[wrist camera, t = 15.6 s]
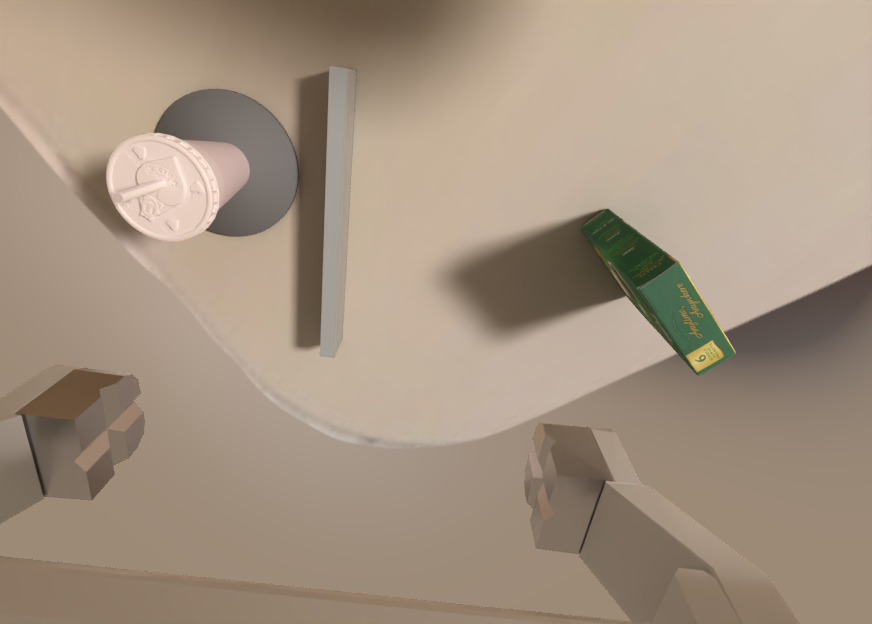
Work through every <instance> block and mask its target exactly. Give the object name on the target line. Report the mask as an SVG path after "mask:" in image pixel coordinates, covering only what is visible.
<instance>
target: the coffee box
mask: <svg viewBox="0 0 872 624" xmlns="http://www.w3.org/2000/svg"><path fill="white" fill-rule="evenodd" d="M581 231H582V232H583V233H584V235H585V236H586V238H587V239H588V241H589V242H590V244H591V245H592V247H593V248H594V249H595V251H596V252H597V254H598V255H599V257H600V258H601V260H602V261H603V263H604V264H605V266H606V267H607V268H608V270H609V271H610V273H611V274H612V276H613V277H614V279H615V280H616V282H617V283H618V285H619V286H620V287H621V289H622V290H623V292H624V293H625V295H626V296H627V297H628V298H629V300H630V301H631V302H632V303H633V305H635V307H636V308H637V309H638V310H639V311H640V312H641V314H642V315H643V316H644V317H645V318H646V319H647V320H648V321H649V323H650V324H651V325H652V326H653V327H654V328H655V329H656V330H657V331H658V332H659V333H660V335H661V336H662V337H663V338H664V339H665V340H666V341H667V342H668V343H669V345H670V346H671V347H672V348H673V349H674V350H675V351H676V352H677V353H678V354H679V356H680V357H681V358H682V359H683V360H684V361H685V362H686V363H687V364H688V366H689V367H690V368H691V369H692V370H693V371H694V372H695V373H696V374H697V375H698V376H701V375H703V374H704V373H706V372H707V371H709V370H710V369H712V368H713V367H715V366H716V365H718V364H720V363H722V362H724V361H725V360H727V359H729V358H730V357H732V356H733V355H735V354H736V352H735V350H734V348H733V347H732V345H731V344H730V342H729V340H728V339H727V337H726V335H725V334H724V332H723V331H722V329H721V327H720V326H719V324H718V323H717V321H716V319H715V318H714V316H713V314H712V313H711V311H710V309H709V308H708V306H707V305H706V303H705V301H704V300H703V298H702V297H701V295H700V293H699V292H698V290H697V288H696V287H695V285H694V284H693V282H692V281H691V279H690V277H689V276H688V274H687V273H686V271H685V270H684V268H683V267H682V265H681V264H680V262H679V261H677V260H676V259H675V258H673V257H672V256H670V255H669V254H668V253H666V252H665V251H663V250H662V249H661V248H659V247H658V246H657V245H655V244H654V243H653V242H651V241H650V240H648V239H647V238H646V237H644V236H643V235H642V234H640V233H639V232H638V231H637V230H635V229H634V228H633V227H631V226H630V225H628V224H627V223H626V222H624V221H623V219H621V218H619V217H618V216H617V215H616V214H614V213H613V212H612V211H611V210H609V209H605V210H604V211H602V212H601V213H599V214H598V215H596V216H595V217H594V218H592V219H591V220H589V221H588V222H586V223H585V224H584V225H583V226H582V227H581Z"/></svg>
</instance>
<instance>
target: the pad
mask: <svg viewBox="0 0 872 624" xmlns="http://www.w3.org/2000/svg"><path fill="white" fill-rule="evenodd" d="M156 133H162V134H167V135H171V136H175V137H177V138H179V139H181V140H196V141H212V142H225V143H229V144H232V145H234V146H236V147H237V148H238V149H240V150H241V151H242V153H243V154H244V155H245V157H246V159H247V161H248V163H249V168H250V174H249V178H248V181H247V183H246V184H245V185H244V186H243V187H242V188H241V189H240V190H239V191H238V192H237V193H236V194H235V195H234V196H233V197H232V198H231V199H230V200H229V201H228V202H227V203H225V204H224V205H223V206H222V207H221V208H220V209H219V210H218V211H217V214H216V217H215V219H214V220H213V222H212V223H211V224H210V226H209V227H208V228H207V230H210V231H212V232H215V233H218V234H222V235H227V236H249V235H254V234H257V233H260V232H263V231H265V230H266V229H268V228H270V227H272V226H273V225H274V224H276V223H277V222H278V221H279V220H280V219H281V218H282V217H283V216H284V215H285V214H286V213H287V211H288V210H289V209H290V207H291V205H292V203H293V201H294V198H295V195H296V192H297V187H298V179H299V171H298V162H297V156H296V153H295V150H294V147H293V145H292V142H291V140H290V138H289V136H288V134H287V133H286V131H285V129H284V128H283V126H282V125H281V124H280V122H279V121H278V120H277V119H276V118H275V117H274V116H273V114H272V113H271V112H269V111H268V110H267V109H266V108H265V107H264V106H262V105H261V104H259V103H258V102H256V101H255V100H253V99H251V98H249V97H247V96H245V95H242V94H239V93H237V92H233V91H228V90H220V89H208V90H200V91H196V92H192V93H190V94H187V95H185V96H183V97H182V98H180V99H179V100H177V101H176V102H175V103H174V104H172V105H171V106H170V107H169V109H168V110H167V111H166V112H165V113H164V115H163V117H162V119H161V120H160V122H159V125H158V127H157V130H156Z"/></svg>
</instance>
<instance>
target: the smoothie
mask: <svg viewBox="0 0 872 624" xmlns="http://www.w3.org/2000/svg"><path fill="white" fill-rule="evenodd" d="M249 174H250V168H249V163H248V161H247V159H246V157H245V155H244V154H243V153H242V151H241V150H240V149H238V148H237V147H236V146H234V145H232V144H229V143H225V142H212V141H196V140H181V139H179V138H177V137H175V136H171V135H167V134H162V133H145V134H142V135H139V136H135V137H132V138H129V139H127V140H125V141H124V142H122V143H121V144H119V145H118V146H117V147H116V149H115V150H114V151H113V153H112V154H111V156H110V158H109V161H108V164H107V168H106V184H107V189H108V192H109V195H110V198H111V200H112V202H113V204H114V206H115V208H116V209H117V211H118V212H119V213H120V215H121V216H122V217H123V218H124V219H125V220H126V221H127V222H128V223H129V224H130V225H131V226H132V227H133V228H135V229H136V230H138V231H139V232H141V233H143V234H144V235H146V236H149V237H151V238H154V239H157V240H162V241H170V242H172V241H182V240H186V239H188V238H191V237H193V236H196V235H199V234H200V233H201V232H203V231H204V230H206V229H207V228H208V227H209V226H210V224H211V223H212V222H213V220H214V219H215V217H216V214H217V211H218V210H219V209H220V208H221V207H222V206H223V205H224V204H225V203H227V202H228V201H229V200H230V199H231V198H232V197H233V196H234V195H235V194H236V193H237V192H238V191H239V190H240V189H241V188H242V187H243V186H244V185H245V184H246V183H247V181H248V178H249Z"/></svg>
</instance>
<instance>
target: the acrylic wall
mask: <svg viewBox="0 0 872 624" xmlns="http://www.w3.org/2000/svg"><path fill="white" fill-rule="evenodd" d="M356 74H357V70H353V69H348V68H342V67H335V66H329V93H328V124H327V155H326V186H325V216H324V247H323V278H322V309H321V339H320V356H323V357H332V358H334V357H335V355H336V352H337V350H338V348H339V345H340V343H341V341H342V337H343V318H344V299H345V280H346V261H347V243H348V224H349V205H350V186H351V168H352V149H353V130H354V111H355V93H356Z"/></svg>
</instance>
